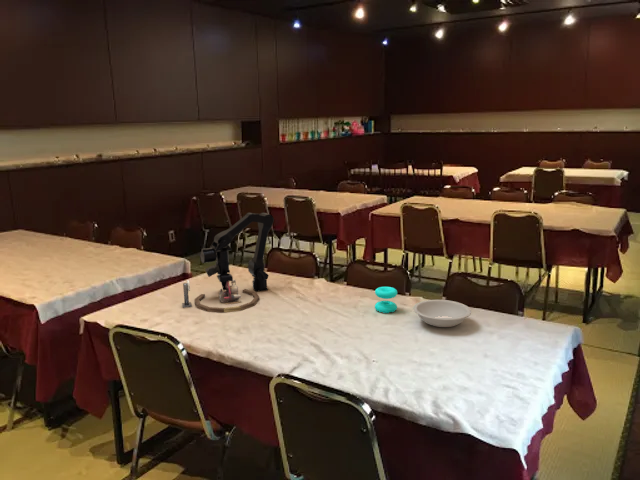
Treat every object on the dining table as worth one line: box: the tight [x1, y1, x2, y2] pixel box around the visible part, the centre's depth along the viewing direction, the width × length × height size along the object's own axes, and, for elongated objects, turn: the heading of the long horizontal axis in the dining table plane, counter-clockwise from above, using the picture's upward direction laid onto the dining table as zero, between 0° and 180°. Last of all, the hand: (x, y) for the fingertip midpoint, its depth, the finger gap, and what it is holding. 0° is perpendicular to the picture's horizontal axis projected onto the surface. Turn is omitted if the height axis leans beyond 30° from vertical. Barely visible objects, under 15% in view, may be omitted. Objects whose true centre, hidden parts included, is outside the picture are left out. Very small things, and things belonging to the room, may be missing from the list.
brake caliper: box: [218, 279, 242, 305], centre depth 263 cm, size 11×11×12 cm
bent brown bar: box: [194, 288, 260, 313], centre depth 261 cm, size 30×26×2 cm
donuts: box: [374, 286, 398, 314], centre depth 247 cm, size 10×10×10 cm
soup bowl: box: [412, 299, 472, 328], centre depth 231 cm, size 24×24×7 cm
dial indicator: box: [181, 279, 193, 309], centre depth 256 cm, size 4×5×12 cm
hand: (224, 290), depth 269 cm, fingers closed
